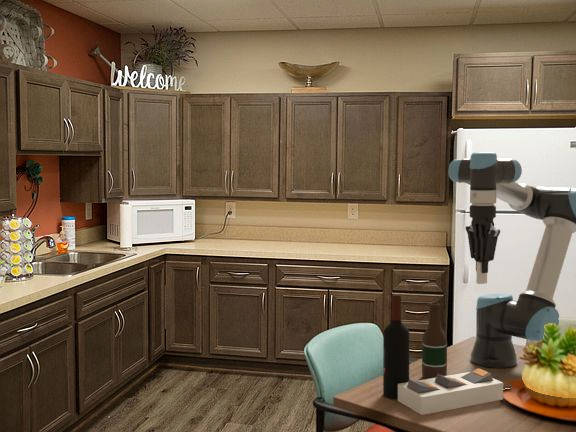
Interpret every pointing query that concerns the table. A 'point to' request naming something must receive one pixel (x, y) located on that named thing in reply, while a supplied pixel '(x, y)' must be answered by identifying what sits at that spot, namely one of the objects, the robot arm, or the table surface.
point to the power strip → (450, 395)
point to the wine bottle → (395, 352)
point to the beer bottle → (434, 345)
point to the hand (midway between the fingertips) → (481, 283)
